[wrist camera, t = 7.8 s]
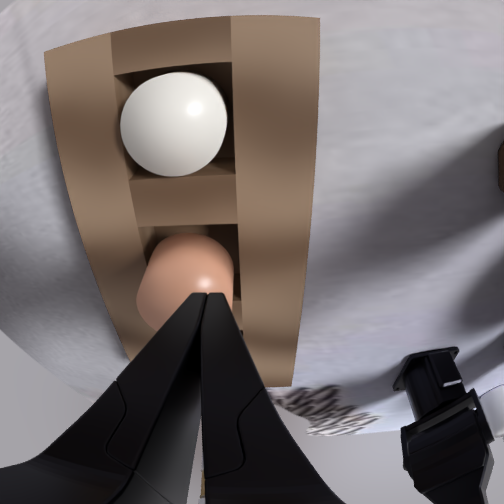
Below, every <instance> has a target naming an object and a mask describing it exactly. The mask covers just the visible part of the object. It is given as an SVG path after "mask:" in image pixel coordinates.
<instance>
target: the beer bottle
mask: <svg viewBox="0 0 504 504" xmlns="http://www.w3.org/2000/svg"><path fill="white" fill-rule="evenodd" d="M498 164H499V188H500V189H501V190H502V191H503V192H504V141H503V143H502V145H501V147H500V149H499V150H498Z"/></svg>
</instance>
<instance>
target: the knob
mask: <svg viewBox="0 0 504 504" xmlns="http://www.w3.org/2000/svg"><path fill="white" fill-rule="evenodd" d="M228 119H229V104H228V100H227V97H226V95H225V93H224V91H223V90H222V88H221V87H220V86H219V84H218V83H217V82H216V81H215V80H213V79H212V78H210V77H209V76H207V75H205V74H203V73H200V72H197V71H191V70H180V71H175V72H171V73H168V74H164V75H161V76H158V77H155V78H152V79H150V80H148V81H146V82H144V83H143V84H141V85H140V86H139V87H138V88H137V89H135V91H134V92H133V93H132V94H131V95H130V97H129V98H128V100H127V101H126V104H125V106H124V108H123V111H122V115H121V122H120V129H121V136H122V140H123V143H124V145H125V147H126V149H127V151H128V153H129V154H130V156H131V157H132V158H133V159H134V160H135V161H136V162H137V163H138V164H139V165H140V166H142V167H143V168H145V169H146V170H148V171H150V172H153V173H155V174H158V175H163V176H183V175H187V174H191V173H193V172H196V171H198V170H199V169H201V168H203V167H204V166H205V165H207V164H208V163H209V162H210V161H211V160H212V159H213V158H214V157H215V155H216V154H217V152H218V151H219V149H220V147H221V145H222V142H223V139H224V135H225V132H226V128H227V124H228Z"/></svg>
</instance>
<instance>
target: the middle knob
mask: <svg viewBox="0 0 504 504" xmlns="http://www.w3.org/2000/svg"><path fill="white" fill-rule="evenodd" d="M233 278H234V266H233V261H232V259H231V257H230V255H229V253H228V252H227V250H226V249H225V248H224V247H223V246H222V245H221V244H220V243H218V242H217V241H215V240H214V239H212V238H210V237H207V236H205V235H201V234H197V233H179V234H174V235H171V236H169V237H167V238H165V239H164V240H162V241H161V242H160V243H159V244H158V245H157V246H156V247H155V249H154V251H153V253H152V255H151V258H150V261H149V263H148V266H147V268H146V271H145V274H144V276H143V279H142V282H141V284H140V287H139V290H138V293H137V297H136V304H137V308H138V311H139V313H140V315H141V317H142V318H143V319H144V321H145V322H146V323H147V324H148V325H149V326H150V327H152V328H153V329H154V330H156V331H158V330H159V329H160V328H161V327H162V326H163V324H164V323H165V322H166V321H167V320H168V319H169V318H170V316H171V315H172V314H173V313H174V312H175V311H176V310H177V309H178V307H179V306H180V305H181V304H182V303H183V302H184V301H185V300H186V298H187V297H188V296H189V295H190V294H191V293H193V292H206V293H207V294H209V293H210V292H222V293H224V294H225V296H226V299H227V301H228V303H229V306H230V308H231V311H232V300H233Z"/></svg>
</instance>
